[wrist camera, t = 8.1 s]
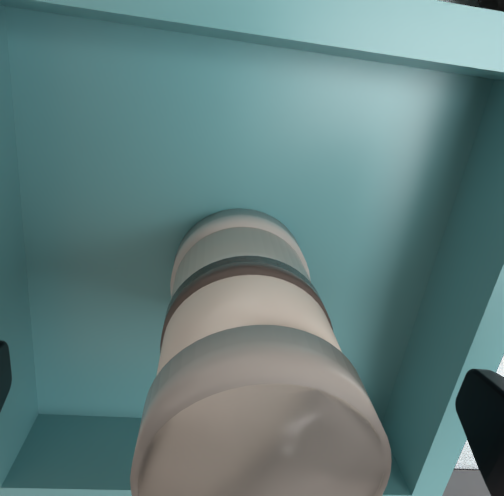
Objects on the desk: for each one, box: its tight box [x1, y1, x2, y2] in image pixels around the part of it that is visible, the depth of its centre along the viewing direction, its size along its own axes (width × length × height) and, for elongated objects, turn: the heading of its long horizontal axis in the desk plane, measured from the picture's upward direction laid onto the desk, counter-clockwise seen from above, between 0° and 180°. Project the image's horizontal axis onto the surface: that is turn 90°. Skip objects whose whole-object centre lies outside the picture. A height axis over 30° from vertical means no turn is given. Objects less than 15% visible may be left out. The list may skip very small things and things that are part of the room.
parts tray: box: [0, 0, 504, 496], centre depth 12 cm, size 14×14×4 cm
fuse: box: [130, 208, 392, 496], centre depth 9 cm, size 4×4×7 cm
